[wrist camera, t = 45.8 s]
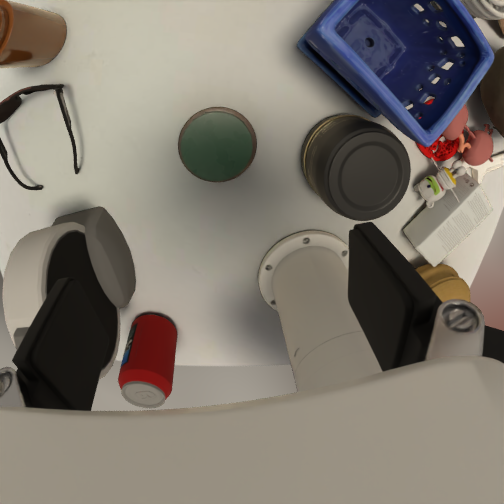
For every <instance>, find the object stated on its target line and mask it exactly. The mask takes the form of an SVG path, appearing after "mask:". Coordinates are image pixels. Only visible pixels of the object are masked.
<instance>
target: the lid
mask: <svg viewBox="0 0 504 504" xmlns="http://www.w3.org/2000/svg"><path fill="white" fill-rule="evenodd" d="M251 136H252V135H251V133H250V132H249V130H248V128H247V127H246V125H245V123H244V121H242V120H240V119H239V118H238V117H237V116H235V115H234V114H233V113H232V114H231V113H228V112H225V111H220V110H219V111H210V112H207V113H206V112H205V113H204V114H202V115H200V116H198V117H197V118H195V119H193V120H192V122H191V123H190V124H189V126H188V127H187V129H185V131H184V134H183V137H182V141H181V145H180V146H181V154H182V158H183V160H184V162H185V164H186V166H187V167H188V168H189V169H190V170H191V171H192V172H193V173H194V174H195V175H197V176H199V177H201V178H203V179H206V180H210V181H222V180H226V179H230V178H232V177H234V176H236V175H237V174H239V173H240V172H241V171H242V170H243V169H244V168H245V167H246V165H247V164H248V162H249V160H250V158H251V155H252V149H253V142H252V137H251Z"/></svg>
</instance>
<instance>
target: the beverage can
mask: <svg viewBox="0 0 504 504" xmlns="http://www.w3.org/2000/svg"><path fill="white" fill-rule="evenodd" d="M176 342H177V331H176V328H175V327H174V325H173V324H172V323H171V322H170V321H168V320H167V319H165V318H163V317H161V316H157V315H143V316H140V317H138V318H137V319H135V320H134V322H133V323H132V326H131V330H130V333H129V337H128V340H127V344H126V348H125V352H124V356H123V360H122V364H121V369H120V373H119V378H118V381H119V385H120V388H121V390H122V391H121V393H122V396H123V397H124V398H125V399H126V400H127V401H128V402H130V403H131V404H133V405H136V406H139V407H143V408H156V407H159V406H161V405H163V404H164V402H165V400H166V398H167V397H168V396H169V395H170V393H171V391H172V383H173V373H174V363H175V353H176Z"/></svg>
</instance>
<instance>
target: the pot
mask: <svg viewBox="0 0 504 504" xmlns="http://www.w3.org/2000/svg"><path fill="white" fill-rule="evenodd" d="M415 270H416V271H417V272H418V273H419V274H420V276H421V277H422V278H423V279H424V280H425V281H426V283H427V284H428V285H429V286H430V287H431V289H432V290H433V291H434V292H435V294H436V295H437V296H438V297H439V299H440V300H441V301H442V302H445V301H447V300H451V299H461V300H465V301H468V302H470V289H469V286H468V285H467V284H466V282H465V281H464V280H463V279H462V278H460V277H459V276H458V273H457V272H456V271H455V270H454V269H453V268H452V267H450V266H448V265H445V264H438V265H437V266H435V267H433V266H432V265H431V264H426V265H423V266H420V267H418V268H417V269H415Z"/></svg>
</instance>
